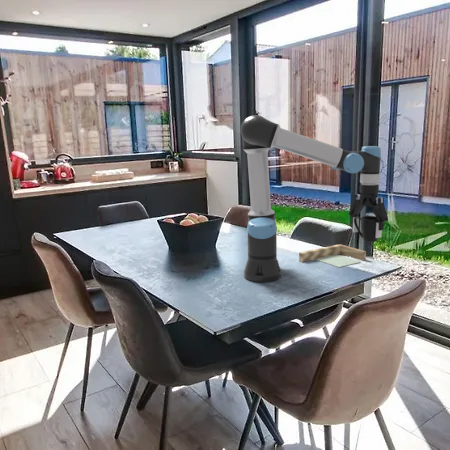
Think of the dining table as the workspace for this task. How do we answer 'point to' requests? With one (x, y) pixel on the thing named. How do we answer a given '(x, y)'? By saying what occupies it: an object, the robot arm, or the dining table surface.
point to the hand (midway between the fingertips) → (366, 234)
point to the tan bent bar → (332, 252)
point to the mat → (337, 260)
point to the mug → (367, 227)
